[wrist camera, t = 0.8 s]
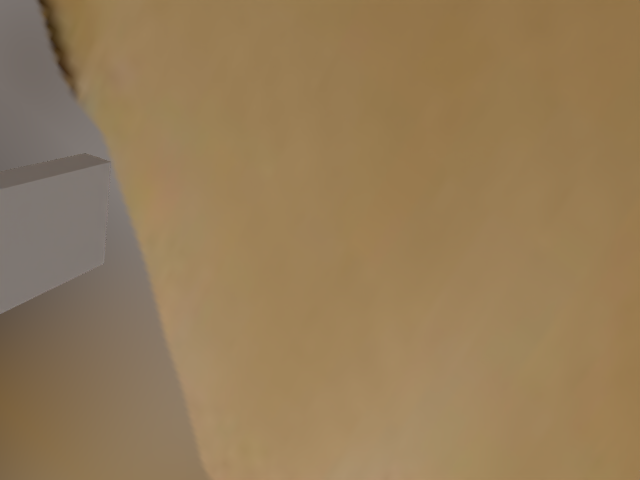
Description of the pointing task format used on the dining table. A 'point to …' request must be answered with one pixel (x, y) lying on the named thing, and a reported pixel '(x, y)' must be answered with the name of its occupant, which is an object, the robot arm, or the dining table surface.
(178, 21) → the dining table surface
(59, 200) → the robot arm
